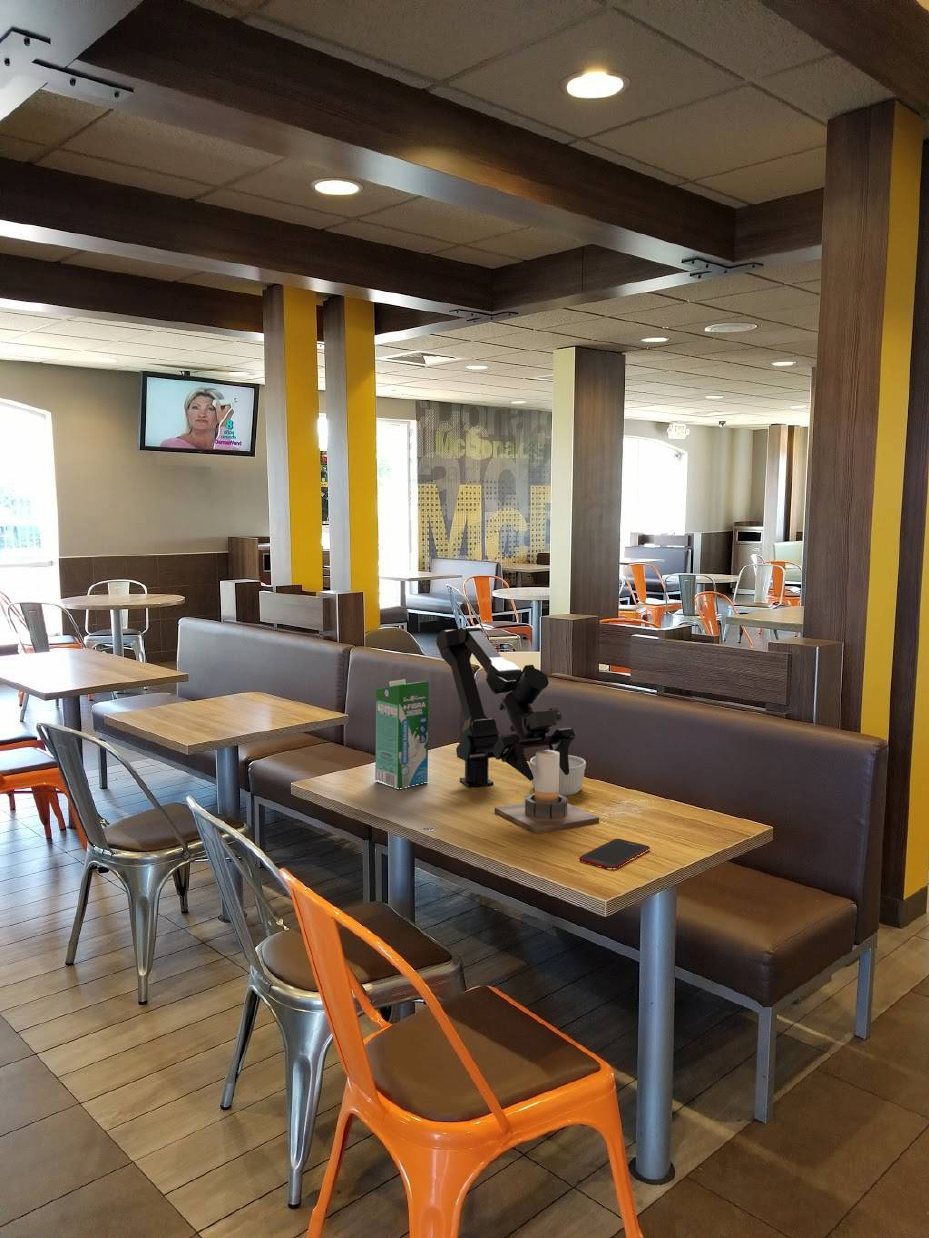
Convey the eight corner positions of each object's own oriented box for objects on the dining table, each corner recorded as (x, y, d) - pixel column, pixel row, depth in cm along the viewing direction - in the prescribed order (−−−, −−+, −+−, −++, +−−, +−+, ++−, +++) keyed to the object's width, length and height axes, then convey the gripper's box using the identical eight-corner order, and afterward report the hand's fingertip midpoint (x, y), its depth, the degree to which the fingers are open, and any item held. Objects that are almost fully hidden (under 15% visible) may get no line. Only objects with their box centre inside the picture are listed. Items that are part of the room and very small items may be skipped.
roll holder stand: (494, 811, 203) (494, 793, 203) (554, 801, 211) (555, 784, 211) (536, 833, 190) (536, 814, 189) (598, 822, 198) (599, 803, 197)
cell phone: (577, 862, 175) (577, 857, 175) (616, 842, 186) (616, 837, 186) (613, 872, 170) (613, 867, 170) (651, 851, 182) (651, 846, 182)
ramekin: (554, 801, 212) (555, 770, 212) (517, 787, 223) (518, 758, 222) (596, 791, 220) (597, 762, 220) (559, 778, 231) (559, 751, 230)
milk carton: (404, 775, 231) (405, 675, 229) (428, 783, 225) (429, 680, 222) (375, 781, 225) (375, 679, 223) (398, 790, 219) (399, 684, 216)
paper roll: (530, 813, 200) (531, 753, 198) (540, 807, 204) (541, 748, 203) (551, 817, 197) (553, 756, 196) (561, 811, 201) (563, 751, 200)
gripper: (500, 698, 197) (529, 761, 188) (572, 691, 206) (602, 751, 198) (480, 727, 204) (507, 790, 196) (551, 719, 214) (579, 778, 205)
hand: (550, 776), depth 199 cm, fingers open, 9 cm apart
